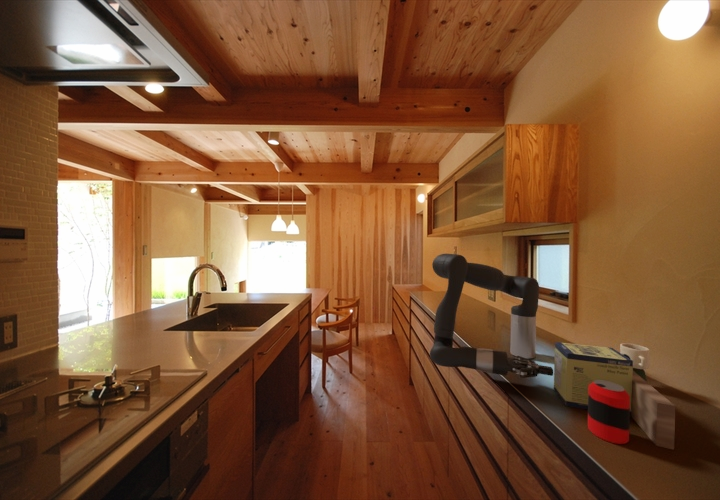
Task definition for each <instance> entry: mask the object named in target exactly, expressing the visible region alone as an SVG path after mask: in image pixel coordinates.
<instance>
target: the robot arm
mask: <svg viewBox="0 0 720 500" xmlns="http://www.w3.org/2000/svg"><path fill="white" fill-rule="evenodd" d="M431 266H432V269H433V272H434V273H435V275H436V276H438V277H440V278H442V279H447V280H448V282H447V289H446V292H445V294H444V296H443V298H442V300H441V301H440V303H439V305H438V306H437V309H436V311H435V316H434V324H433V325H434V326H433V332H434V340H433V344H432V347H431V348H430V351H429V357H430V359H431V361H432V362H433V364H435V365H438V366H441V367H447V368H466V369H471V370H477V371H480V372H484V373H488V374H493V375H500V376H503V377H504V376H505V377H506V376H508V373H509V372H511V373H514V374H517V375H519V377H520V378H521V379H525V378H535V377H538V375H545V376H550V377H551V376H553V377H554V368H553V367H551V366H547V365H542V364H541V365H540V364H538V363H536V362H535V361H534V360H531V359H535V358H536V344H537V343H536V342H537V341H536V339H537V337H536V335H537V330H536V329H537V311H538V309H539V308H538V307H539V296H540V284H539V282H538V280H537V279H536V278H534V277H528V276H518V275H509V274H505V273H504V272H503V271H502V270H501V269H500V268H499V269H498V268H496V267H494V266H491V265H488V264H482V263H476V262H475V263H474V262H468V260H467V259H466V257H465V256H463V255H461V254H456V253H440V254H438V255H437V256H435V258H434V259H433V260H432V264H431ZM465 283H466V284H468V285H469V284H470V285H472V286H475V287H478V288H481V289H484V290H489V291H494V292H495V291H496V292H497V291H498V292H501V293H504V294H507V295H509V296H511V297H514V298H519V299H522V302H521V303H520V304H518V305H513V306H511V308H510V309H511V310H510V347H509V348H510V352H509V353H510V354H511V355H513V356H515V357H508V352H507V351H503V350H495V349H490V348H482V347H481V348H477V347H472V346H460V347H453V346H454V341H453V340H454V333H455V327H456V326H455V325H456V319H457V318H456V317H457V310H458V306H459V302H460V298H461V295H462V292H463V288H464V284H465Z"/></svg>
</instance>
